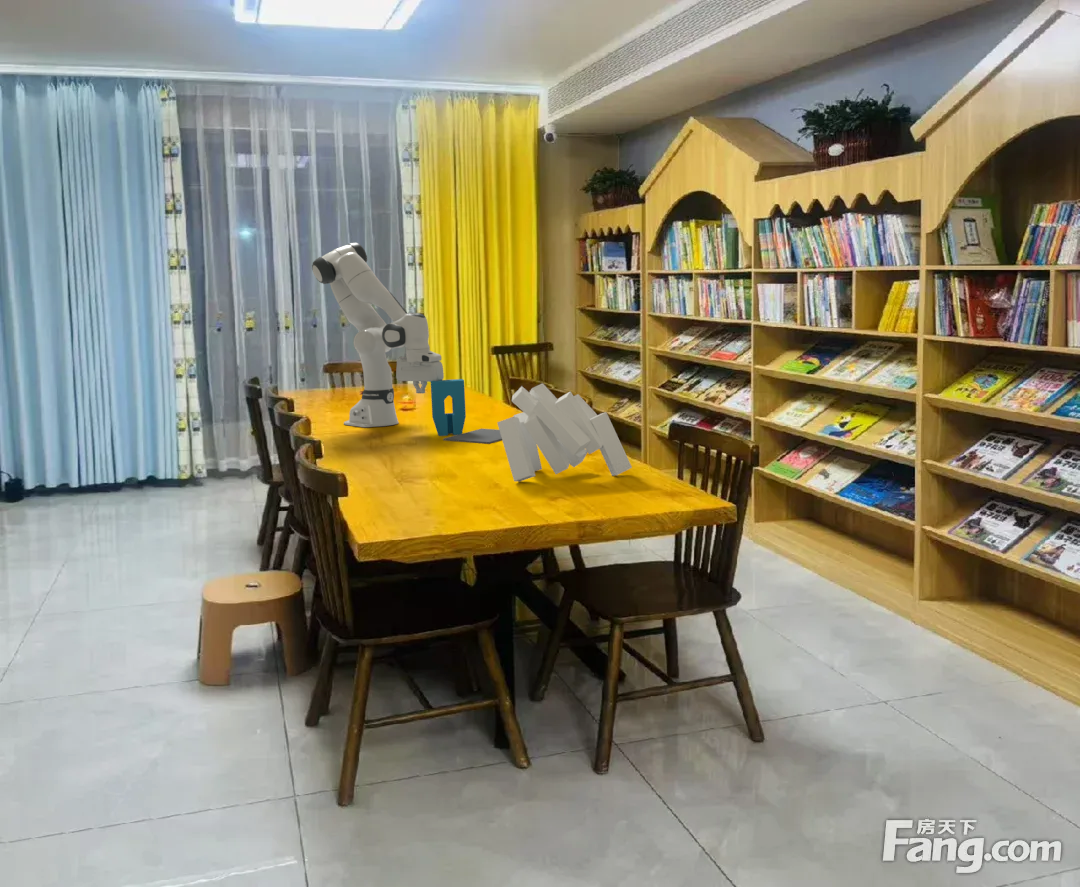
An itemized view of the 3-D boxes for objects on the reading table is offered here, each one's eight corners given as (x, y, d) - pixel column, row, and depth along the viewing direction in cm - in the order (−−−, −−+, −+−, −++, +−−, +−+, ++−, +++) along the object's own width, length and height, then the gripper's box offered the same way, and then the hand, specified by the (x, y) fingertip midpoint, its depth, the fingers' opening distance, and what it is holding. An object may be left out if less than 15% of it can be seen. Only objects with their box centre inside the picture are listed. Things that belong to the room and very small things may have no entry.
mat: (443, 440, 374) (443, 438, 374) (481, 430, 394) (481, 428, 394) (489, 443, 364) (489, 442, 363) (526, 433, 384) (526, 431, 383)
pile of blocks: (614, 480, 322) (565, 379, 326) (649, 458, 294) (596, 348, 298) (515, 525, 310) (466, 419, 314) (542, 506, 282) (488, 391, 286)
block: (464, 432, 391) (462, 379, 387) (466, 434, 386) (464, 380, 383) (433, 434, 388) (430, 380, 385) (434, 436, 384) (431, 382, 380)
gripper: (391, 357, 392) (393, 393, 394) (434, 357, 381) (436, 394, 383) (402, 355, 397) (404, 391, 400) (444, 355, 386) (447, 392, 389)
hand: (420, 393), depth 391 cm, fingers closed
